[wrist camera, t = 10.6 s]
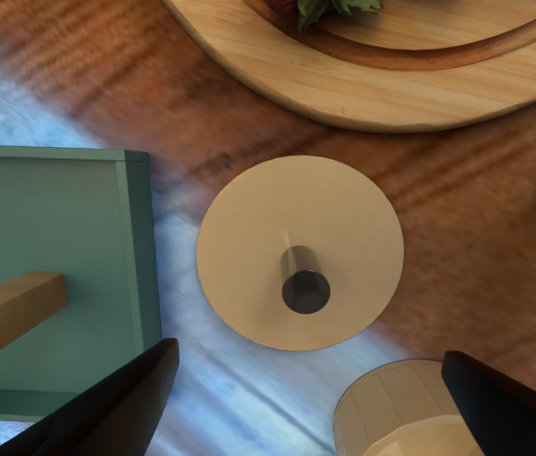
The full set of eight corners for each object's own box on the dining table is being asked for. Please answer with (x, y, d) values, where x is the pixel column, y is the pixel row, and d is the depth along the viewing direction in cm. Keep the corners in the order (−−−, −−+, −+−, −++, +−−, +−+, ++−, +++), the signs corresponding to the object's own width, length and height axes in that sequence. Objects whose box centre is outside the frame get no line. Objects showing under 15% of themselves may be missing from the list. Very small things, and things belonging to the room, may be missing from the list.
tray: (166, 396, 21) (151, 429, 18) (-16, 387, 21) (-56, 418, 18) (148, 152, 16) (124, 149, 13) (-84, 144, 16) (-150, 140, 14)
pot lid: (380, 344, 19) (420, 409, 14) (203, 336, 19) (177, 396, 14) (411, 159, 16) (475, 155, 11) (197, 152, 16) (162, 145, 11)
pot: (469, 483, 22) (518, 562, 17) (326, 475, 22) (339, 551, 18) (505, 363, 19) (575, 421, 15) (340, 355, 19) (360, 410, 15)
